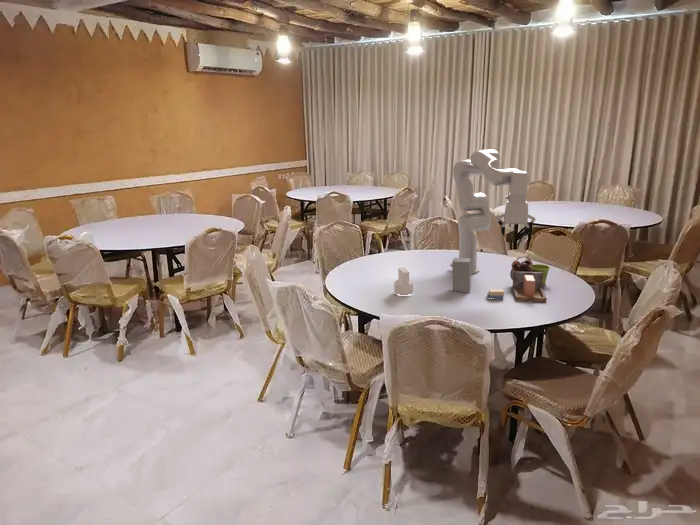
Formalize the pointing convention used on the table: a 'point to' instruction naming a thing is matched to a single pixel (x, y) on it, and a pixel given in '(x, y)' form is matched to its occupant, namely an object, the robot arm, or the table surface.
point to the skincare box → (461, 274)
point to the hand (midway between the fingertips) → (514, 235)
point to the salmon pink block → (529, 285)
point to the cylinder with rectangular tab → (403, 283)
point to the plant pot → (541, 270)
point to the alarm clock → (521, 266)
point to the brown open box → (518, 287)
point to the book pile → (495, 293)
